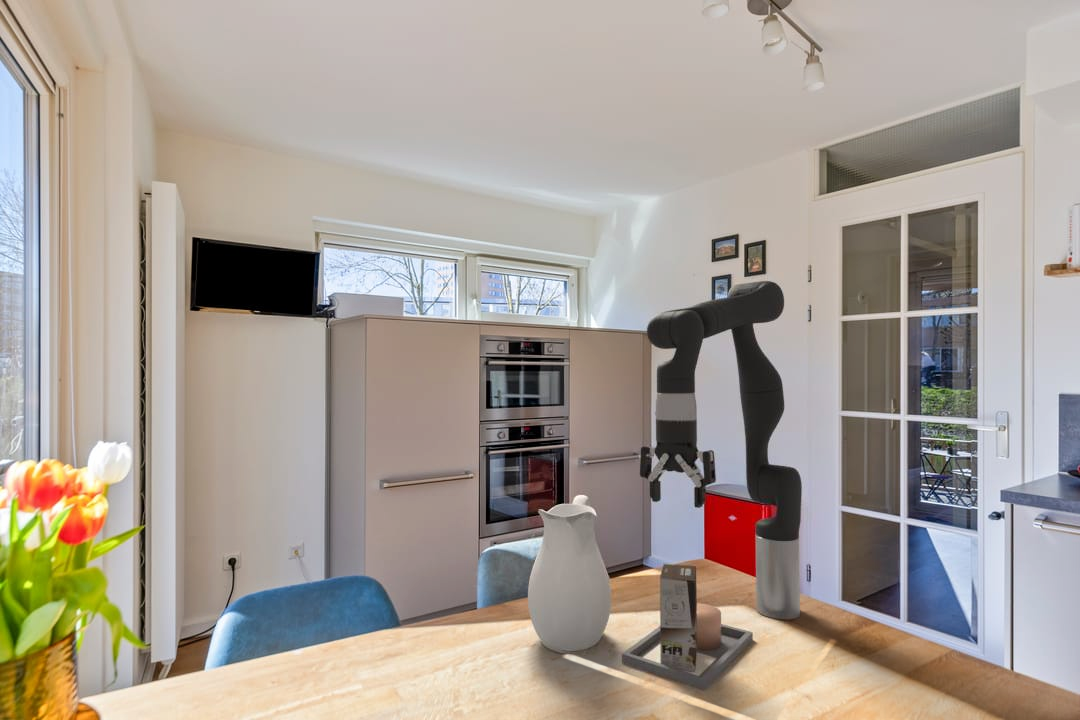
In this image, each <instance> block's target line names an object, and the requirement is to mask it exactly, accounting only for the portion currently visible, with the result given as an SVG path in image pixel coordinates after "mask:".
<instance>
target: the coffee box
mask: <svg viewBox="0 0 1080 720" xmlns="http://www.w3.org/2000/svg"><path fill="white" fill-rule="evenodd" d="M659 579H660V584H659V585H660V586H659V590H660V591H659V593H660V595H659V598H660V599H659V602H660V603H659V606H660V607H659V608H660V609H659V611H660V612H659V617H660V618H659V619H660V620H659V621H660V652H661V654H660V663H661V664H664V665H667V666H670V667H673V668H676V669H679V670H685V671H691V672H694V671H695V669H696V656H697V603H698V602H697V601H698V600H697V597H698V596H697V595H698V594H697V593H698V592H697V587H698V586H697V565H687V564H668V563H664V564H663V566H662V569H661V572H660V577H659Z"/></svg>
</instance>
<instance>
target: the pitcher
mask: <svg viewBox="0 0 1080 720" xmlns="http://www.w3.org/2000/svg"><path fill="white" fill-rule="evenodd" d="M590 503H591V502H590V498H589V497H588V496H587V495H583V494H578V495H576V496H574V498H573V500H572V503H561V504H557V505H554V506H553V507H552V508H550V509H549V510H547V511H545V510H544V509H541V508H540V509H538V510H537V512H538V514H539V516H540V517H541V519H542V522H543V527H544V530H543V536H542V541H541V543H540V546H539V549H538V552H537V554H536V558H535V561H534V563H533V566H532V569H531V571H530V572H531V573H530V577H529V582H528V587H527V588H528V590H527V606H528V612H529V618H530V621H531V624H532V626H533V629H534V631H535V633H536V635H537V636H538V639H539V640H540V642H541V643H542V644H543V646H544V647H545V648H547V649H548V650H550V651H552V652H555V653H559V654H564V655H565V654H567V655H569V654H572V653H571V652H575V651H583V650H587V649H590V648H592V647H594V646H596V645H597V644H598V642H599V641H600V639H601V638H602V636H603V634H604V632H605V630H606V628H607V625H608V622H609V619H610V615H611V609H612V607H611V606H612V591H611V590H612V589H611V583H610V578H609V575H608V571H607V568H606V565H605V562H604V559H603V557H602V554H601V551H600V549H599V546H598V544H597V541H596V535H595V524H596V520H597V519H598V517H597V516H598V515H597V513H596V510H595V509H594V508H593V507H591V506H590V505H591V504H590Z"/></svg>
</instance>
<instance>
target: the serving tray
mask: <svg viewBox="0 0 1080 720" xmlns="http://www.w3.org/2000/svg"><path fill="white" fill-rule="evenodd" d="M753 633H754V632H752V631H750V630H745V629H741V628H738V627H734V626H731V625H726V624H722V623H721V646H720V647H719V648H717V649H714V650H697V656H696V669H695V671H694V672H691V671H685V670H679V669H676V668H673V667H670V666H667V665H664V664H661V663H660V654H661V652H660V626H658V627H657V628H655V629H654V630H652V631H651V632H649V633H648V634H647V635H645V637H643V638H642V639H640V640H639V641H637V642H636V643H635V644H633V645H632V646H630V647H629V648H628V649H626V650H625V651H623V652H622V653H621V663H622V664H626V665H629V666H632V667H635V668H638V669H641V670H643V671H646V672H650V673H653V674H655V675H658V676H662V677H663V678H667V679H670V680H673V681H676V682H679V683H682V684H684V685H688V686H690V687H693V688H696V689H700V690H702V691H706V690H707V689H708V688H709V686H710V685H712V683H713V682H714V681H716V679H717V678H718V677H720V675H721V674H722V673H723V672H724V671H725V670H726V669H727V668H728V667H729V666H730V665H731V664H732V663H733V662H734V660H735V659H737V657H739V655H740V654H741V653H742V652H743V651H744V650H745V649H746V647H748V646H749V644H750V643H751V642H753V640H754V636H753Z"/></svg>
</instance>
